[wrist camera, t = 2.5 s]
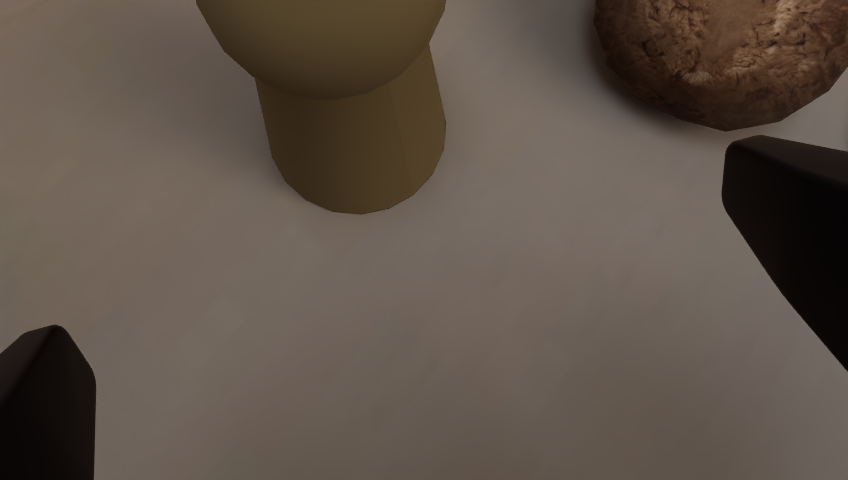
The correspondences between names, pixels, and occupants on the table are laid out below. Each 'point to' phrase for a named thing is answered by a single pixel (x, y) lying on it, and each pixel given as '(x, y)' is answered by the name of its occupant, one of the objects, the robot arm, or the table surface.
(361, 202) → the pepper shaker
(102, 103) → the table surface
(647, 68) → the mushroom
